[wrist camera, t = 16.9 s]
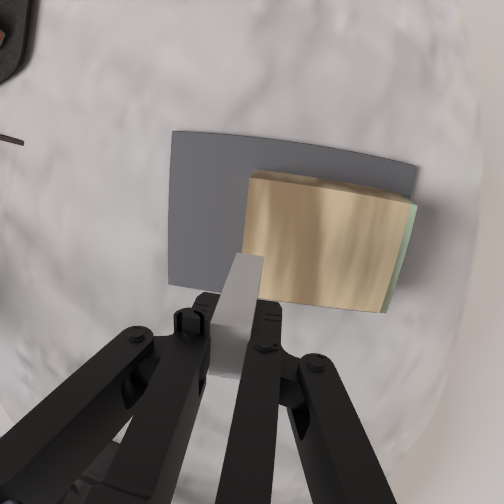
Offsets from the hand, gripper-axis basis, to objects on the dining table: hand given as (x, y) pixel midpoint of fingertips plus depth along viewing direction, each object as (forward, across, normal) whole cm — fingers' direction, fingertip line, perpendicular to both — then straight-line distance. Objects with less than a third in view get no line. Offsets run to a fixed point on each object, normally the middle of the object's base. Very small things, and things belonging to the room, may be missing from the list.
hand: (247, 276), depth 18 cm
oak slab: (+7, -1, 0) cm, 7 cm away
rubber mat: (+10, +2, 0) cm, 10 cm away
